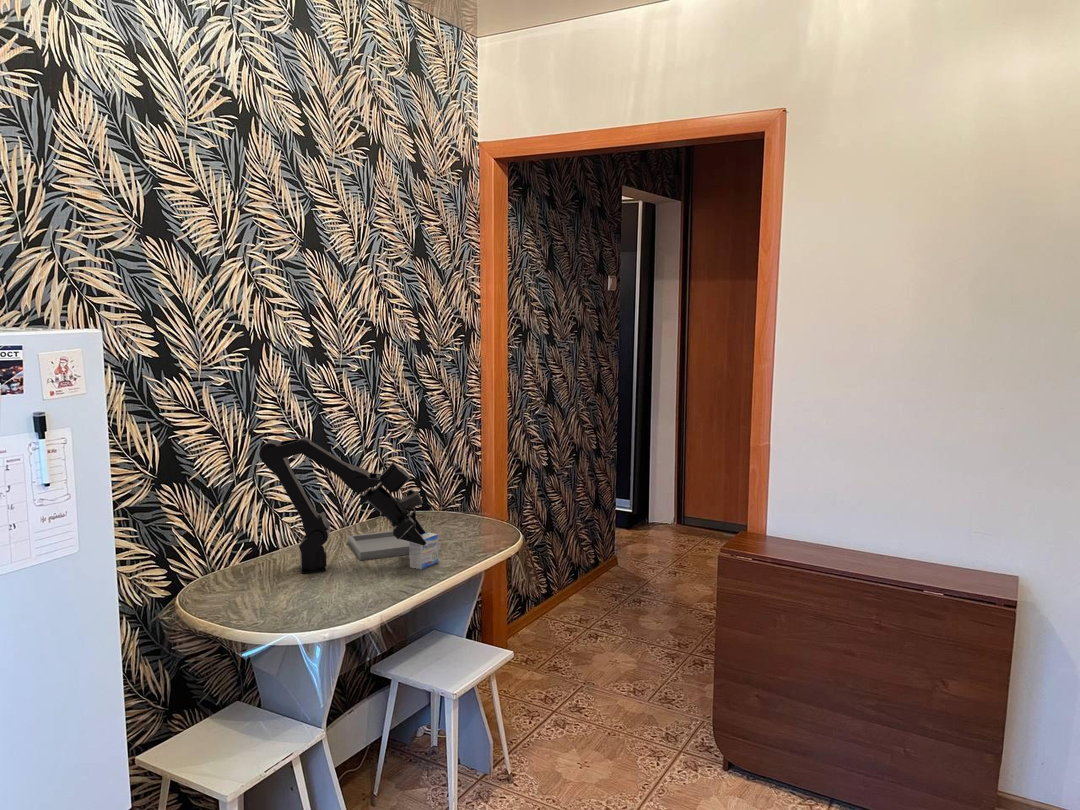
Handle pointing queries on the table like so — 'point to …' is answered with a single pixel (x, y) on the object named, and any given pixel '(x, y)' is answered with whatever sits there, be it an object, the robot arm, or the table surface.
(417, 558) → the medicine box
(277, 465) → the robot arm
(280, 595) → the table surface
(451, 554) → the table surface
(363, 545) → the tray
